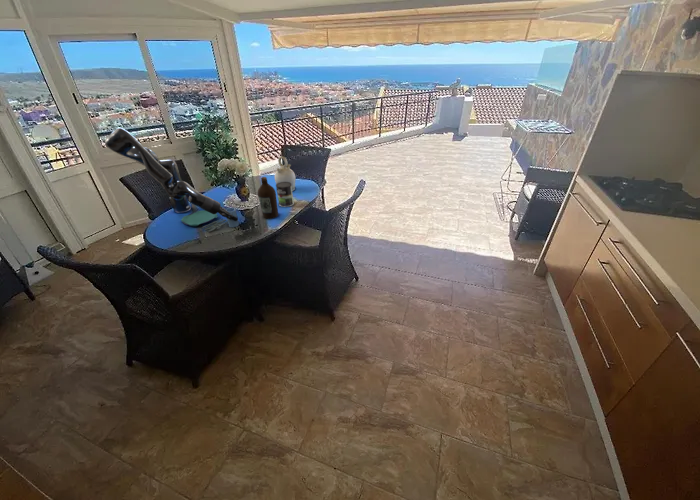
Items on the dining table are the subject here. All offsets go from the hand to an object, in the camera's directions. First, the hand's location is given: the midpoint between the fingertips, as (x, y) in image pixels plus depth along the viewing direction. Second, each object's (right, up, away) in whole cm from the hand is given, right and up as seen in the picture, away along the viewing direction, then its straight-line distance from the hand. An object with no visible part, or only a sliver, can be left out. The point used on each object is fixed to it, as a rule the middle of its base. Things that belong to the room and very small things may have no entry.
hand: (234, 217), depth 175 cm
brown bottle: (+19, +2, +11) cm, 22 cm away
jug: (+21, +26, +48) cm, 59 cm away
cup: (-1, -4, +2) cm, 5 cm away
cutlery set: (-21, -3, +6) cm, 21 cm away
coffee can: (+26, +12, +26) cm, 38 cm away
